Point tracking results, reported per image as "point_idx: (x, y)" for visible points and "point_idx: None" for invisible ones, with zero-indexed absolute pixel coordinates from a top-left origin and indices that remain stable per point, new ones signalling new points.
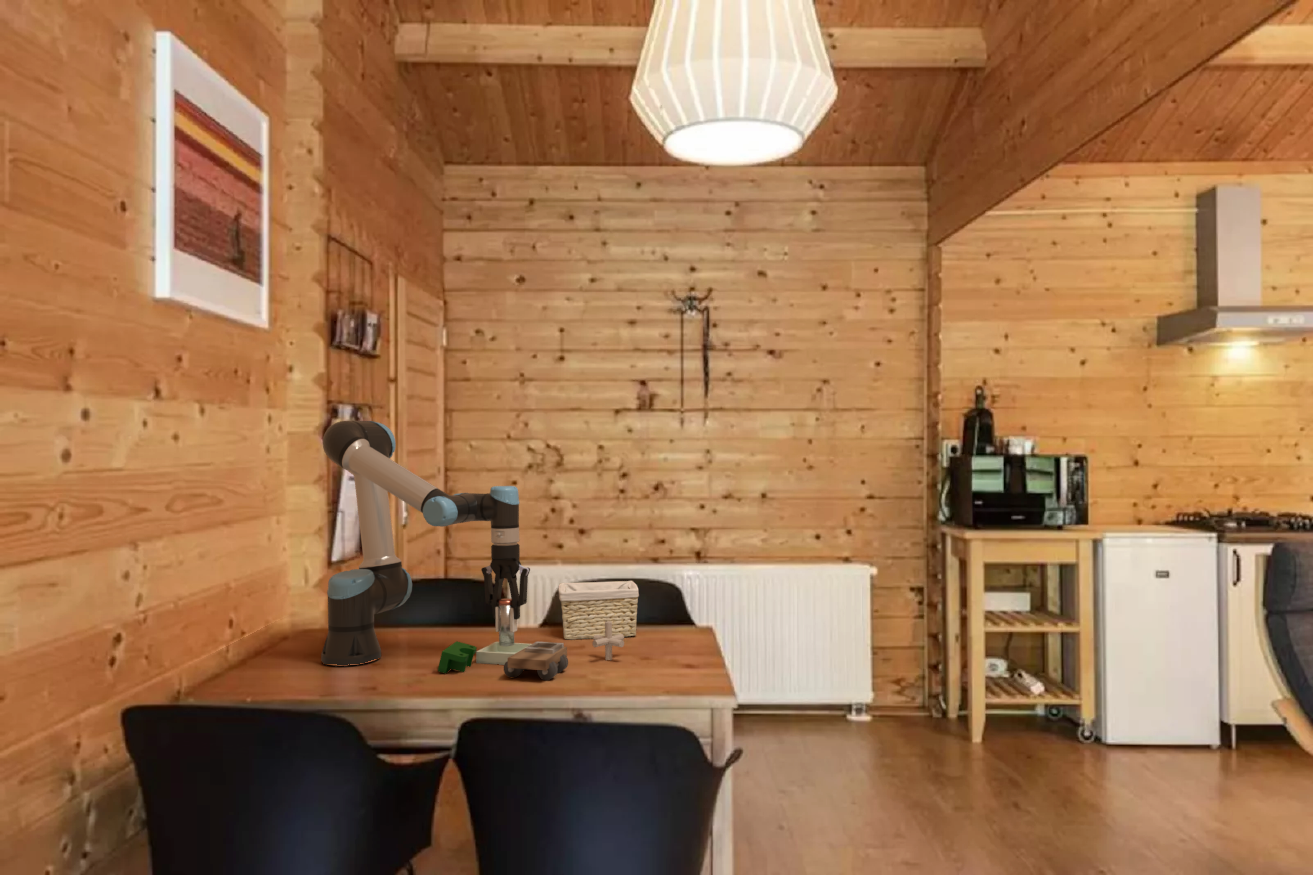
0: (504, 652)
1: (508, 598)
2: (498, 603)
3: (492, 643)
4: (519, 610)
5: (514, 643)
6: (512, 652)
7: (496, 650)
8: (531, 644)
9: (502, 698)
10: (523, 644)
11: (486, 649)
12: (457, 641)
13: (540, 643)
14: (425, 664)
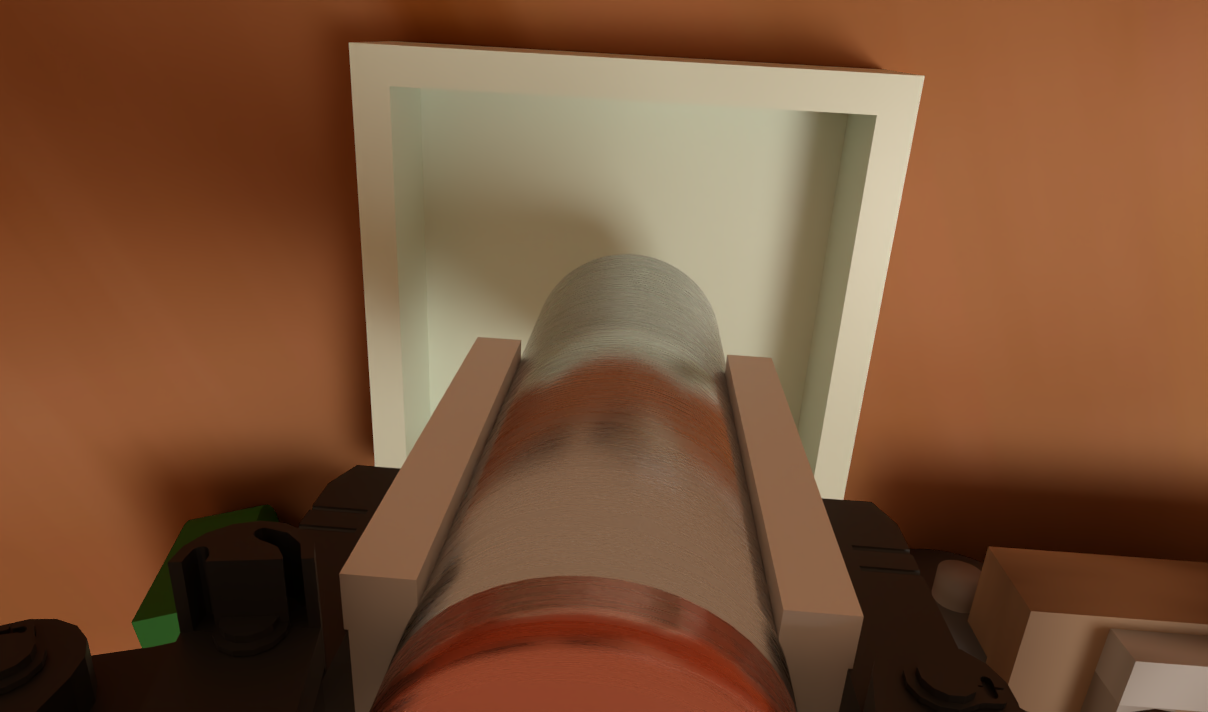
0: (527, 121)
1: (552, 690)
2: (322, 704)
3: (356, 149)
4: (934, 630)
5: (637, 95)
6: (619, 105)
7: (416, 102)
8: (884, 107)
9: None
10: (768, 106)
11: (407, 368)
12: (142, 620)
13: (1186, 706)
14: (28, 558)
